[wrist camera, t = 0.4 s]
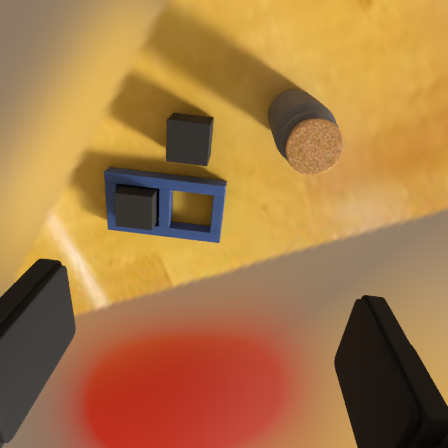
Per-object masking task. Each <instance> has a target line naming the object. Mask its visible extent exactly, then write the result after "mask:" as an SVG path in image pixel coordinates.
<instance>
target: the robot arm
mask: <svg viewBox="0 0 448 448" xmlns="http://www.w3.org/2000/svg"><path fill="white" fill-rule="evenodd" d="M74 334H75V321H74V314H73V307H72V301H71V294H70V288H69V281H68V275H67V269H66V267H65V266H62V264H61V262H60V261H58V260H50V259H39V260H37V261H36V262H35V263H34V264H33V265H32V266H31V267H30V268H29V269H28V270H27V271H26V272H25V273H24V274H23V275H22V276H21V277H20V278H19V279H18V280H17V281H16V282H15V283H14V284H13V285H12V286H11V287H10V288H9V289H8V290H7V291H6V292H5V293H4V294H3V296H1V297H0V448H2V446H3V444H4V443H8V442H10V441H11V440H12V439H13V437H14V435H15V434H16V432H17V431H18V429H19V427H20V426H21V424H22V422H23V420H24V419H25V417H26V416H27V414H28V412H29V411H30V409H31V407H32V406H33V404H34V402H35V401H36V399H37V397H38V396H39V394H40V392H41V391H42V389H43V387H44V385H45V384H46V382H47V381H48V379H49V377H50V376H51V374H52V372H53V371H54V369H55V367H56V366H57V364H58V362H59V361H60V359H61V357H62V356H63V354H64V352H65V351H66V349H67V347H68V346H69V344H70V342H71V341H72V339H73V337H74ZM334 364H335V370H336V373H337V377H338V380H339V384H340V387H341V391H342V394H343V398H344V401H345V405H346V408H347V412H348V415H349V419H350V422H351V426H352V429H353V433H354V436H355V440H356V443H357V446H358V448H448V406H447V404H446V403H445V401H444V399H443V397H442V396H441V394H440V392H439V390H438V389H437V387H436V386H435V383H434V382H433V380H432V378H431V377H430V375H429V373H428V371H427V370H426V368H425V366H424V364H423V363H422V361H421V359H420V357H419V356H418V354H417V352H416V351H415V349H414V348H413V346H412V345H411V344H410V342H409V341H408V339H407V337H406V335H405V334H404V332H403V330H402V329H401V327H400V325H399V323H398V321H397V320H396V318H395V316H394V315H393V312H392V311H391V309H390V307H389V305H388V304H387V302H386V300H385V299H384V298H383V297H376V296H368V295H364V296H363V297H362V298H361V299H357V300H356V301H355V304H354V306H353V309H352V312H351V314H350V317H349V320H348V323H347V326H346V328H345V331H344V334H343V336H342V339H341V342H340V345H339V347H338V350H337V353H336V356H335V362H334Z"/></svg>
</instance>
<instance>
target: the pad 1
mask: <svg viewBox="0 0 448 448" xmlns="http://www.w3.org/2000/svg"><path fill="white" fill-rule="evenodd" d="M114 203H115V220H116V226H118V227H126V228H135V229H143V230H151V231H152V230H153V228H154V226H155V224H156V222H157V220H158V218H159V189H158V188H150V187H142V186H134V185H126V184H121V185H120V186H119V188H118V189H117V190H116V191H115V192H114Z"/></svg>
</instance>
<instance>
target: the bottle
mask: <svg viewBox="0 0 448 448" xmlns="http://www.w3.org/2000/svg"><path fill="white" fill-rule="evenodd" d="M268 118H269V124H270V128H271V131H272V134H273V137H274V141H275V144H276V146H277V149H278V150H279V152H280V153H281V155H282V156H283V157H284V158H285V159H286V160H287V161H288V162H289V164H290V165H291V166H292V167H293V168H294V169H295V170H296V171H298V172H300V173H302V174H306V175H317V174H321V173H324V172H326V171H328V170H329V169H331V168H332V167H333V166H334V165H335V164H336V163H337V162H338V161H339V159H340V157H341V155H342V152H343V148H344V140H343V135H342V133H341V131H340V129H339V127H338V125H337V123H336V120H335V118H334V116H333V114H332V113H331V112H330V111H329V110H328V109H327V108H326V107H325V106H324V105H323V104H321V103H320V102H319V101H318V100H316V99H315V98H314V97H312V96H311V95H310V94H308V93H307V92H305V91H302V90H299V89H291V90H287V91H284V92H282V93H281V94H279V95H278V96H277V97H276V98H275V99H274V100H273V102H272V104H271V106H270V109H269V115H268Z"/></svg>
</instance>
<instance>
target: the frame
mask: <svg viewBox="0 0 448 448" xmlns="http://www.w3.org/2000/svg"><path fill="white" fill-rule="evenodd" d="M104 178H105V192H106V206H107V220H108V230H117V231H125V232H133V233H141V234H149V235H158V236H166V237H174V238H182V239H190V240H199V241H207V242H215V243H219V242H220V235H221V226H222V218H223V209H224V201H225V193H226V184H227V181H222V180H214V179H205V178H197V177H189V176H181V175H173V174H164V173H156V172H148V171H140V170H132V169H123V168H115V167H109V168H108V169H106V170H105V171H104ZM121 184H126V185H134V186H142V187H150V188H158V189H159V220H157V222H156V224H155V226H154V228H153V230H152V231H151V230H143V229H135V228H126V227H118V226H116V220H115V203H114V192H115V191H116V190H117V189H118V188H119V186H120V185H121ZM173 190H175V191H183V192H191V193H199V194H208V195H214V197H213V207H212V217H211V226H205V225H197V224H189V223H180V222H172V203H173Z"/></svg>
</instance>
